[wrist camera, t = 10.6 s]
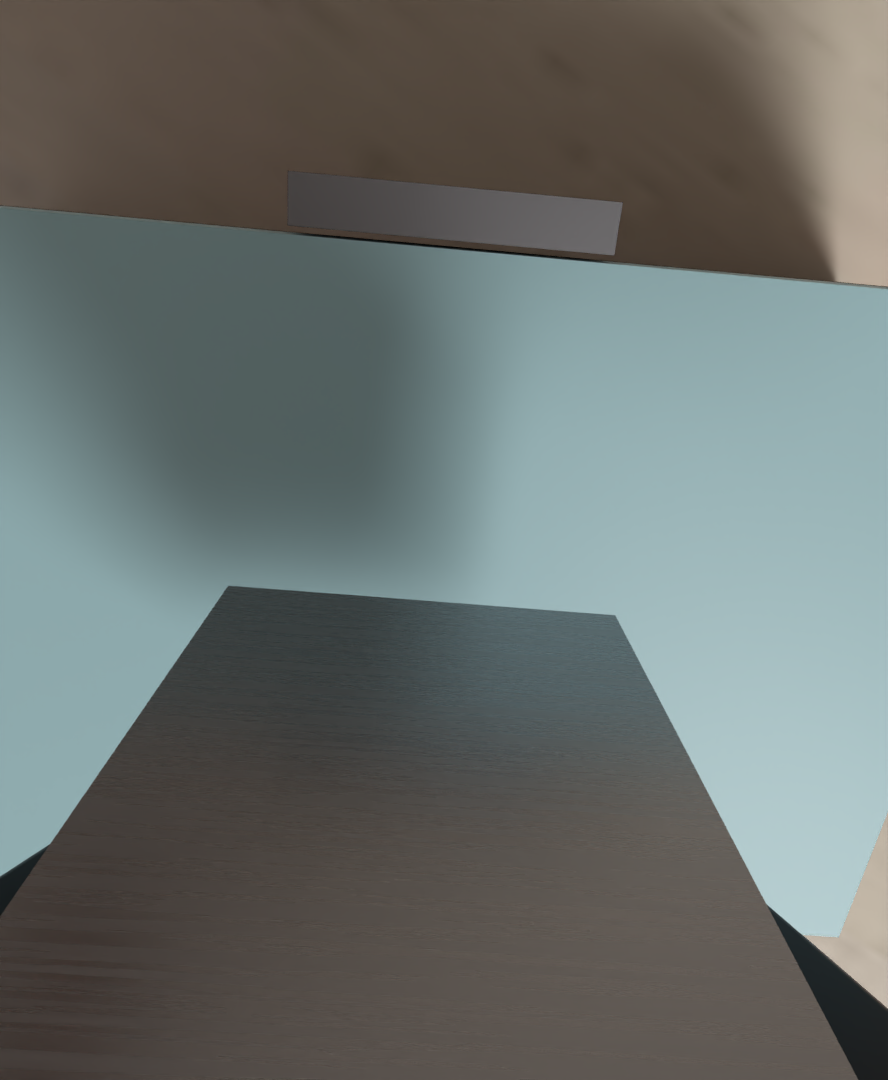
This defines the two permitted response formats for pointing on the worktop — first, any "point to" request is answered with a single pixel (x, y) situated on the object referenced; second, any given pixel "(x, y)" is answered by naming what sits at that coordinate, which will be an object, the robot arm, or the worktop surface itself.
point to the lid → (452, 480)
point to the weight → (401, 869)
